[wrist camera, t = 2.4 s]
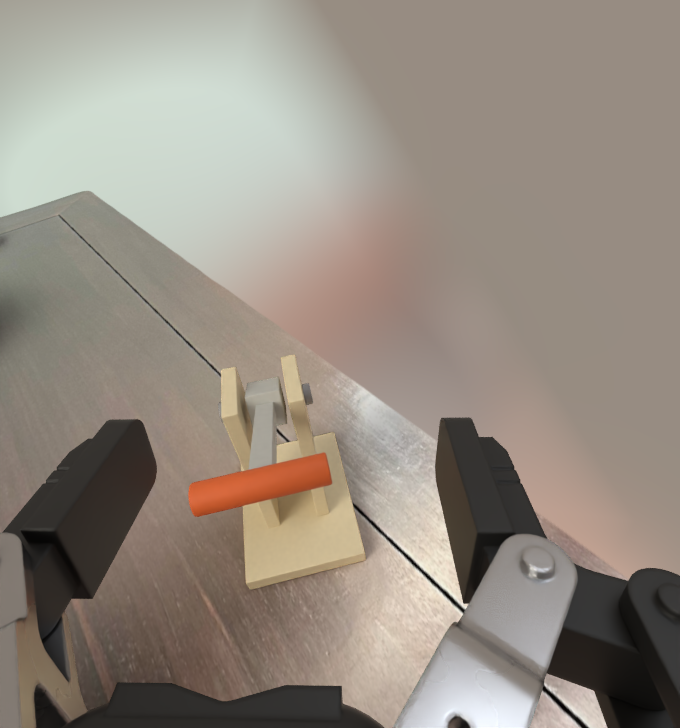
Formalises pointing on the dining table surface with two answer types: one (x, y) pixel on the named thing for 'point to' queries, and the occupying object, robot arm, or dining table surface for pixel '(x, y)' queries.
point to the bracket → (296, 511)
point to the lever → (261, 461)
